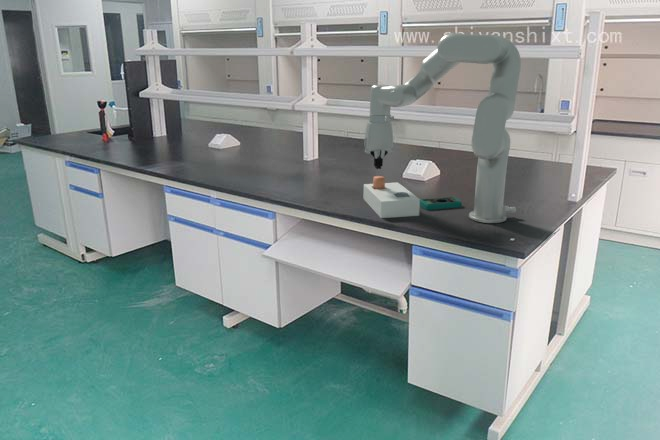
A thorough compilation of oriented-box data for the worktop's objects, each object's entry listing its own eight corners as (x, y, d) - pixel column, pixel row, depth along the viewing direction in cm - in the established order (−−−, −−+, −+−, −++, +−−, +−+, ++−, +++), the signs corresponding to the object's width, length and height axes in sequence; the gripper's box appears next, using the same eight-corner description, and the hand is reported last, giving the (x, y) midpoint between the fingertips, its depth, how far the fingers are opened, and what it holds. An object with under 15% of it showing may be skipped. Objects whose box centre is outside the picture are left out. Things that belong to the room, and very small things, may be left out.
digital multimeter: (463, 208, 197) (463, 200, 196) (426, 211, 193) (426, 203, 192) (454, 203, 204) (454, 195, 203) (418, 206, 200) (418, 198, 199)
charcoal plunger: (405, 206, 195) (405, 191, 193) (409, 209, 190) (409, 194, 189) (393, 207, 194) (394, 192, 192) (397, 210, 190) (397, 195, 188)
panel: (397, 196, 211) (397, 182, 210) (419, 215, 187) (419, 199, 185) (363, 199, 209) (363, 184, 207) (380, 218, 185) (381, 201, 183)
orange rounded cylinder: (382, 189, 205) (383, 175, 203) (386, 192, 201) (386, 178, 199) (371, 190, 204) (372, 176, 202) (374, 193, 200) (375, 178, 198)
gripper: (396, 117, 199) (394, 165, 205) (357, 118, 197) (356, 166, 202) (402, 120, 192) (399, 169, 198) (362, 121, 190) (361, 171, 195)
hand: (378, 168), depth 200 cm, fingers closed
